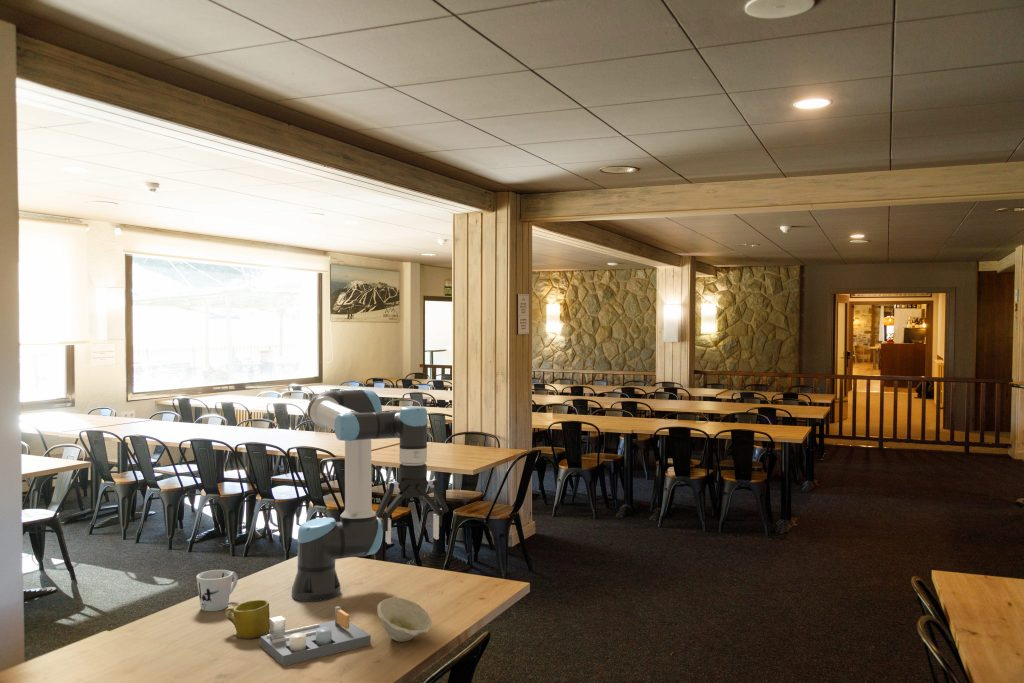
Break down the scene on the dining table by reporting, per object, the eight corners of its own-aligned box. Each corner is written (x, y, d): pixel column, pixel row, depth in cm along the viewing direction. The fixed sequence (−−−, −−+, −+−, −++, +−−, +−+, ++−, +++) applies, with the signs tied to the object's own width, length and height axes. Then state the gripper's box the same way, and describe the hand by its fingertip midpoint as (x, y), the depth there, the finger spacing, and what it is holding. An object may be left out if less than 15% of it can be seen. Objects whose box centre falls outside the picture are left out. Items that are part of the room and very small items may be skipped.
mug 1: (188, 610, 236) (188, 576, 236) (223, 595, 249) (224, 564, 249) (215, 615, 232) (215, 581, 232) (250, 600, 245) (250, 568, 246)
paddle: (334, 624, 218) (334, 607, 218) (338, 623, 218) (339, 606, 218) (345, 632, 212) (345, 614, 212) (349, 631, 213) (350, 613, 213)
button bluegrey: (313, 642, 206) (313, 629, 206) (327, 638, 208) (327, 626, 208) (319, 646, 203) (319, 634, 203) (334, 643, 205) (334, 630, 205)
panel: (260, 645, 209) (260, 634, 209) (344, 627, 223) (344, 616, 223) (282, 666, 196) (282, 653, 196) (370, 644, 210) (370, 633, 210)
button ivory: (287, 648, 202) (287, 635, 202) (302, 644, 204) (302, 631, 204) (293, 653, 199) (293, 639, 199) (308, 649, 201) (308, 636, 201)
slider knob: (269, 637, 208) (269, 618, 208) (281, 635, 210) (281, 615, 210) (273, 641, 205) (273, 621, 205) (285, 638, 207) (285, 619, 207)
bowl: (406, 654, 204) (406, 615, 204) (365, 643, 211) (366, 605, 211) (441, 636, 217) (441, 600, 217) (402, 626, 224) (402, 591, 224)
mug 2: (284, 622, 221) (271, 591, 219) (262, 646, 212) (248, 614, 210) (249, 624, 226) (237, 594, 224) (227, 647, 217) (213, 616, 214)
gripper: (371, 467, 209) (370, 548, 209) (460, 462, 219) (459, 539, 219) (365, 463, 216) (364, 541, 216) (451, 459, 226) (450, 533, 226)
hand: (412, 540), depth 217 cm, fingers open, 13 cm apart
